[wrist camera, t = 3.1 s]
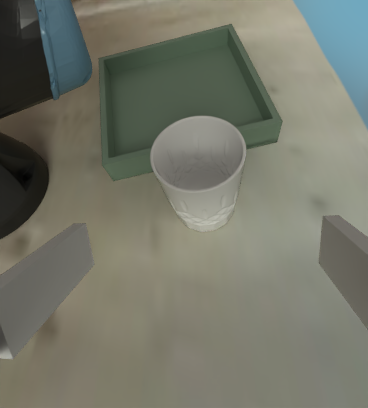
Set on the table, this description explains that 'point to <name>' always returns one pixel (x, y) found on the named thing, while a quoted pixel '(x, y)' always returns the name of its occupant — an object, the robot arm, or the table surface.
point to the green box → (179, 95)
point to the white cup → (200, 169)
